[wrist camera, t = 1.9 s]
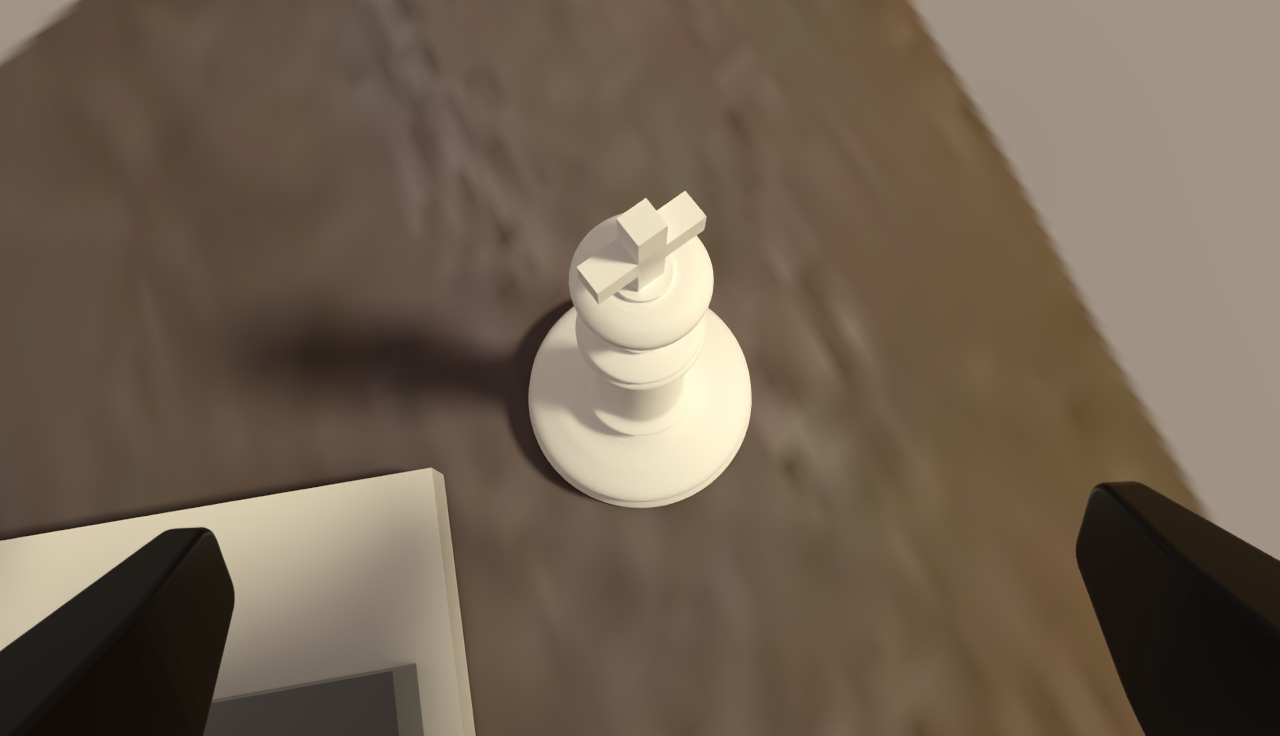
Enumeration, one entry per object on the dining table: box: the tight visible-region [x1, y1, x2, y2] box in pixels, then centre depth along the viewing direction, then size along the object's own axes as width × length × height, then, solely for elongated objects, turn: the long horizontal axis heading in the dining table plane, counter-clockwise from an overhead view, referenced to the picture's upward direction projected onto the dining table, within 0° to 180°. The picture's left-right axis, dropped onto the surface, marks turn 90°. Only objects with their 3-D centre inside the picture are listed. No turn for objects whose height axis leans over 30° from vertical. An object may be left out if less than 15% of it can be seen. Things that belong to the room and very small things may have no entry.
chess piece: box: [528, 191, 751, 508], centre depth 16 cm, size 5×5×10 cm
